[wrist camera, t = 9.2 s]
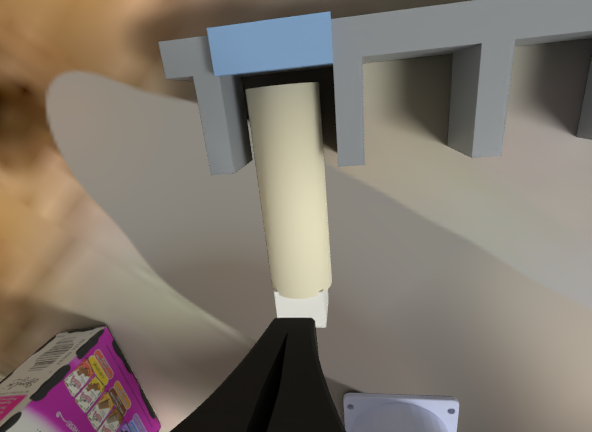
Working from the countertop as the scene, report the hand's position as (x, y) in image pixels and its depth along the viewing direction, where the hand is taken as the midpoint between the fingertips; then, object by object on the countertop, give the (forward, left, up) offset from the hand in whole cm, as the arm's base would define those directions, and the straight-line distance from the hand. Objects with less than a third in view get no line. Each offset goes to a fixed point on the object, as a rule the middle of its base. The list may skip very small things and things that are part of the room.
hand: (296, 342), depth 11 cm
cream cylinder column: (+2, +1, -10) cm, 10 cm away
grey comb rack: (+8, -5, -10) cm, 13 cm away
